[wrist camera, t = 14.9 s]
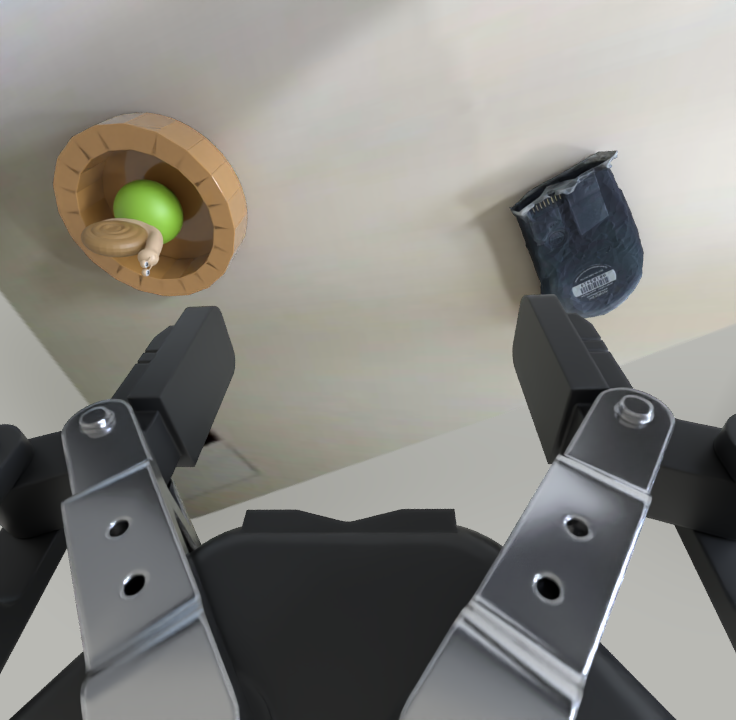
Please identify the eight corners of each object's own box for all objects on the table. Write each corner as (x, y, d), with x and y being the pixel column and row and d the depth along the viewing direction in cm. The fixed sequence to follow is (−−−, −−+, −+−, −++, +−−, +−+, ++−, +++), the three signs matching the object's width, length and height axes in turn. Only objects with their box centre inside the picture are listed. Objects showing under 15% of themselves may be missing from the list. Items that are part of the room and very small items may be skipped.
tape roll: (51, 118, 36) (15, 130, 33) (223, 106, 35) (205, 117, 32) (124, 276, 45) (102, 298, 42) (262, 270, 44) (251, 292, 41)
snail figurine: (204, 237, 42) (152, 303, 33) (136, 225, 42) (63, 288, 32) (200, 179, 39) (141, 234, 29) (126, 165, 38) (41, 217, 29)
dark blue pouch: (494, 204, 41) (554, 327, 47) (511, 214, 36) (576, 351, 42) (591, 143, 38) (641, 282, 44) (623, 145, 34) (675, 301, 39)
